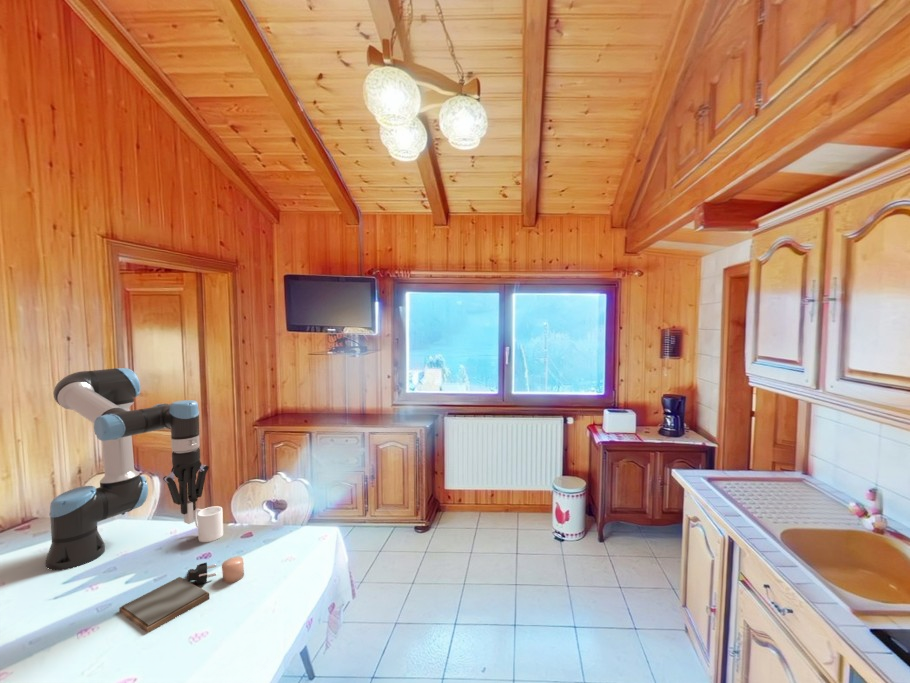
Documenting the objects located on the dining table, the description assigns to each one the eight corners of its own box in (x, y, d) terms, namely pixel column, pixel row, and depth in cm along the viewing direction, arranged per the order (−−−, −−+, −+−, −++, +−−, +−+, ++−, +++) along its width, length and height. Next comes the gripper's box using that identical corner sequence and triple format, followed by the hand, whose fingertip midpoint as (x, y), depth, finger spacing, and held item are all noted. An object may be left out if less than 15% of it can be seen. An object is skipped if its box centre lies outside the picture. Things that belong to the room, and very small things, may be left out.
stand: (119, 614, 115) (119, 606, 115) (180, 582, 129) (180, 575, 129) (147, 635, 107) (147, 627, 107) (209, 599, 121) (209, 591, 121)
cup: (204, 528, 163) (203, 503, 163) (228, 532, 160) (227, 507, 159) (185, 538, 156) (184, 513, 155) (209, 543, 152) (209, 517, 152)
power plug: (187, 561, 135) (189, 568, 125) (214, 555, 139) (217, 561, 130) (187, 580, 134) (188, 588, 124) (213, 573, 138) (217, 581, 129)
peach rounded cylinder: (218, 581, 130) (217, 566, 130) (234, 569, 136) (233, 555, 135) (232, 584, 128) (231, 569, 128) (248, 573, 134) (247, 558, 133)
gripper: (170, 457, 122) (173, 534, 123) (213, 445, 133) (215, 516, 135) (156, 453, 126) (160, 528, 127) (200, 442, 137) (202, 511, 138)
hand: (188, 522), depth 131 cm, fingers closed
